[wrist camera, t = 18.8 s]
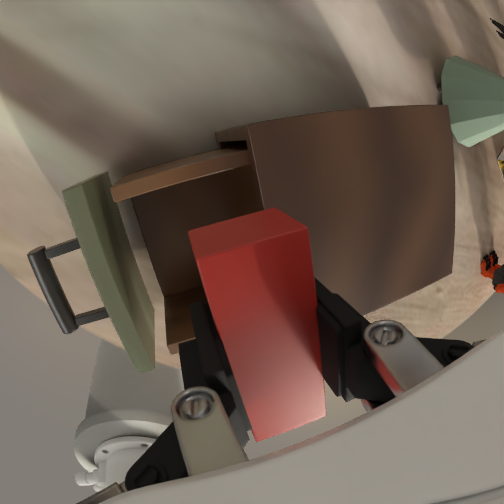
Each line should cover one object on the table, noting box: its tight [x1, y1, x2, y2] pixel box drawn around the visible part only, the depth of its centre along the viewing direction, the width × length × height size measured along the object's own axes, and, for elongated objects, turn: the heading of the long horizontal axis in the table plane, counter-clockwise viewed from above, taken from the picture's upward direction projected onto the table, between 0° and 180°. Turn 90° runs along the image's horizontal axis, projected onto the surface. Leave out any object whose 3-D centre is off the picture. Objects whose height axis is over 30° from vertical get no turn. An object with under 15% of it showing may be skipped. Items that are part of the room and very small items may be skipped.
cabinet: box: [215, 105, 455, 316], centre depth 22 cm, size 15×13×10 cm
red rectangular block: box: [188, 208, 326, 442], centre depth 11 cm, size 8×3×3 cm, turn 12°
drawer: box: [27, 143, 261, 374], centre depth 20 cm, size 18×12×8 cm, turn 102°
